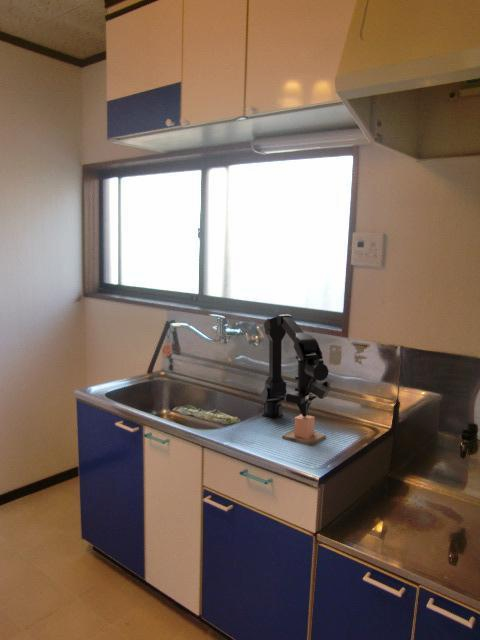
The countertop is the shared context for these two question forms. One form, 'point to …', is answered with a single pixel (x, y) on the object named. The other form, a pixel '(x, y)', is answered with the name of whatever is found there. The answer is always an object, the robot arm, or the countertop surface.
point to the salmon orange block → (304, 426)
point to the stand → (309, 441)
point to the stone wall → (207, 414)
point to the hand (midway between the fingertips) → (304, 416)
